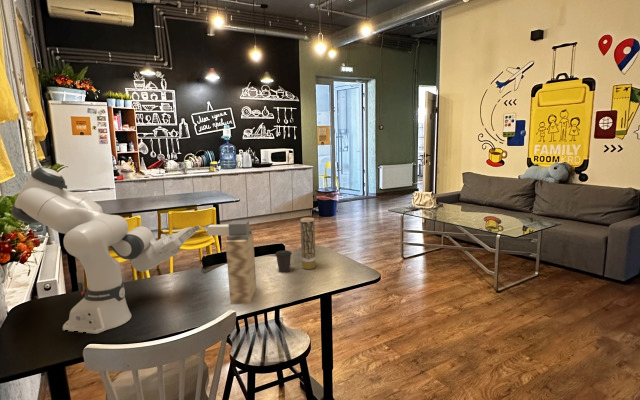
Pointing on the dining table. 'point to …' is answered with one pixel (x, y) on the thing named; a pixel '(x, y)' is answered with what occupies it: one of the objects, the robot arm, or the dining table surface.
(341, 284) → the dining table surface
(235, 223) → the hammer
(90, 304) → the robot arm
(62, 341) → the dining table surface
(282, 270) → the coffee cup
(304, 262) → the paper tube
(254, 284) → the beige zigzag patterned box
